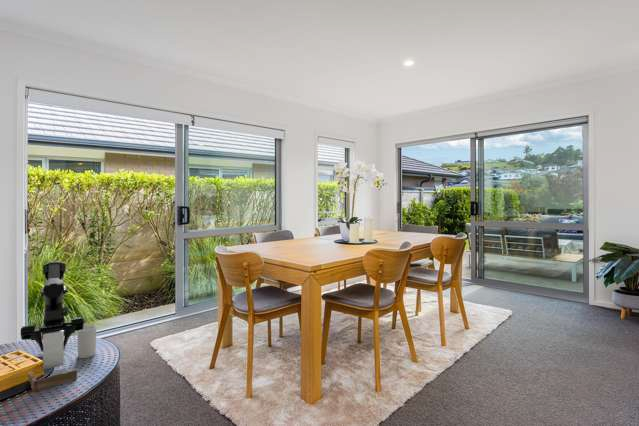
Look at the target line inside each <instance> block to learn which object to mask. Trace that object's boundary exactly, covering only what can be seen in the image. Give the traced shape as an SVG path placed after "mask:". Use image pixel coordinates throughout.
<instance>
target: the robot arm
mask: <svg viewBox="0 0 639 426" xmlns="http://www.w3.org/2000/svg"><path fill="white" fill-rule="evenodd" d="M66 269H67V264H66V263H65V262H64V263H63V262H61V261H49V262H47V263H46V264H43V265H42V275H44V279H45V282H44V283H43V287H41V291H40V292H41V296H40V297H43V302H44V312H43V314H44V316H43V325H42V326H37V327H36V325H35V324H30V325H23V326H22V327H21V328H20V339H21V340H22V341H25V340H30V341H35V342H36V344H37V345H38V347H39V349H40V351H41V352H42V353H43V334H44V333H50V332H55V331H61V330H64V350H65V349H66V346H67V343H68V341H69V339H70V338H71V335H72V334H75V333H76V332H77V331H78V330H82V329H83V326H85V325H84V323H85V322H84V321H85V320H84V317H82V316H80V317H75V318H71V320H70V322H67V321H65V317H68V313H69V309H68V308H69V307H68V306H65V307H64V305H63V304H64V303H63V302H64V301H63V298H64V295H66V293H68V287H67V285H66V284H64V280H63V279H64V276H65V274H66V271H67V270H66Z"/></svg>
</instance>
